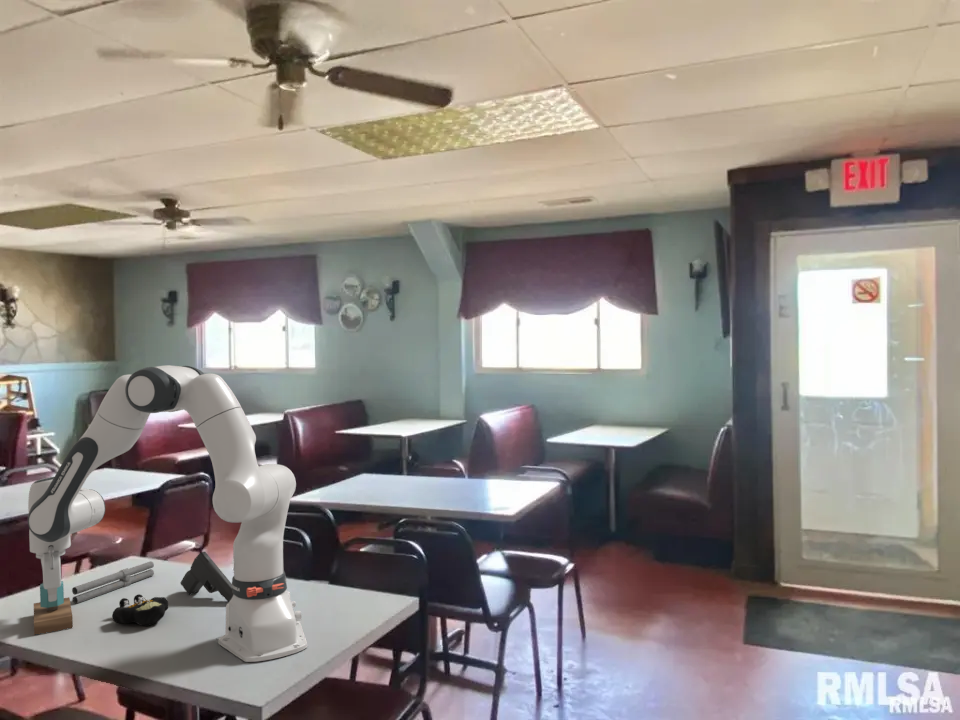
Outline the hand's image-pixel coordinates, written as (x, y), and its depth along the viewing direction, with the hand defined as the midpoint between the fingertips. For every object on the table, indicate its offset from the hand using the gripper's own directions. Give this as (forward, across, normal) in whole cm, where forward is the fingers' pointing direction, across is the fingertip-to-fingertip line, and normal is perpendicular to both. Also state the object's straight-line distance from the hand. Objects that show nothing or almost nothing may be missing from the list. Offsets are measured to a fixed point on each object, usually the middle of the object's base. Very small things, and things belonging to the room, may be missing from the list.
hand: (52, 597), depth 183 cm
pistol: (+7, -4, -37) cm, 38 cm away
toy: (+7, -12, -19) cm, 23 cm away
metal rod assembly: (+7, +19, -16) cm, 26 cm away
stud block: (+6, 0, 0) cm, 6 cm away
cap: (+2, 0, 0) cm, 2 cm away
